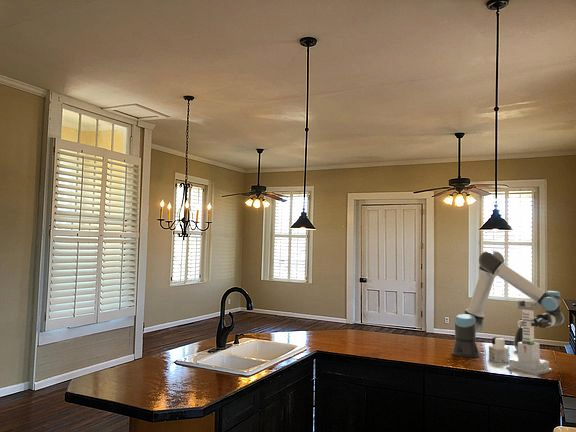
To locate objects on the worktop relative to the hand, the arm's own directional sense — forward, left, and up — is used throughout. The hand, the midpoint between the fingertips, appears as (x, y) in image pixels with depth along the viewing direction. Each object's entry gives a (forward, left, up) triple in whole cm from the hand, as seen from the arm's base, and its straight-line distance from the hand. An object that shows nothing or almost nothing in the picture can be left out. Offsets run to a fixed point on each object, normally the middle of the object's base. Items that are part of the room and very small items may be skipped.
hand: (522, 324), depth 242 cm
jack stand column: (+4, +3, -19) cm, 20 cm away
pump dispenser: (+19, +46, -25) cm, 56 cm away
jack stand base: (+4, +3, -25) cm, 25 cm away
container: (-5, +21, -25) cm, 33 cm away
